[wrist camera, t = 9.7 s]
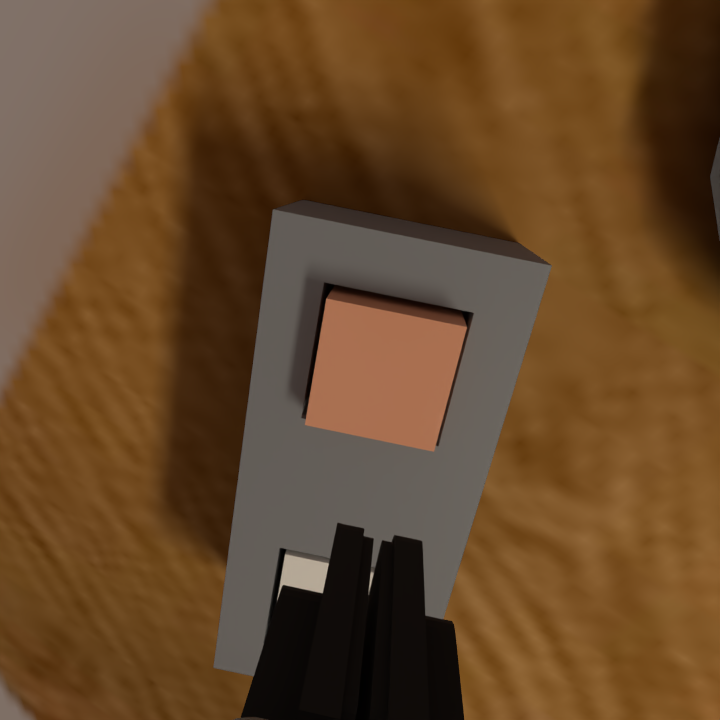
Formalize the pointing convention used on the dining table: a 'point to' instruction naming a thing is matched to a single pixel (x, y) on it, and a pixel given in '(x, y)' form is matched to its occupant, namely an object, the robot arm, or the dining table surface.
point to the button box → (354, 453)
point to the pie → (716, 185)
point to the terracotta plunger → (384, 367)
